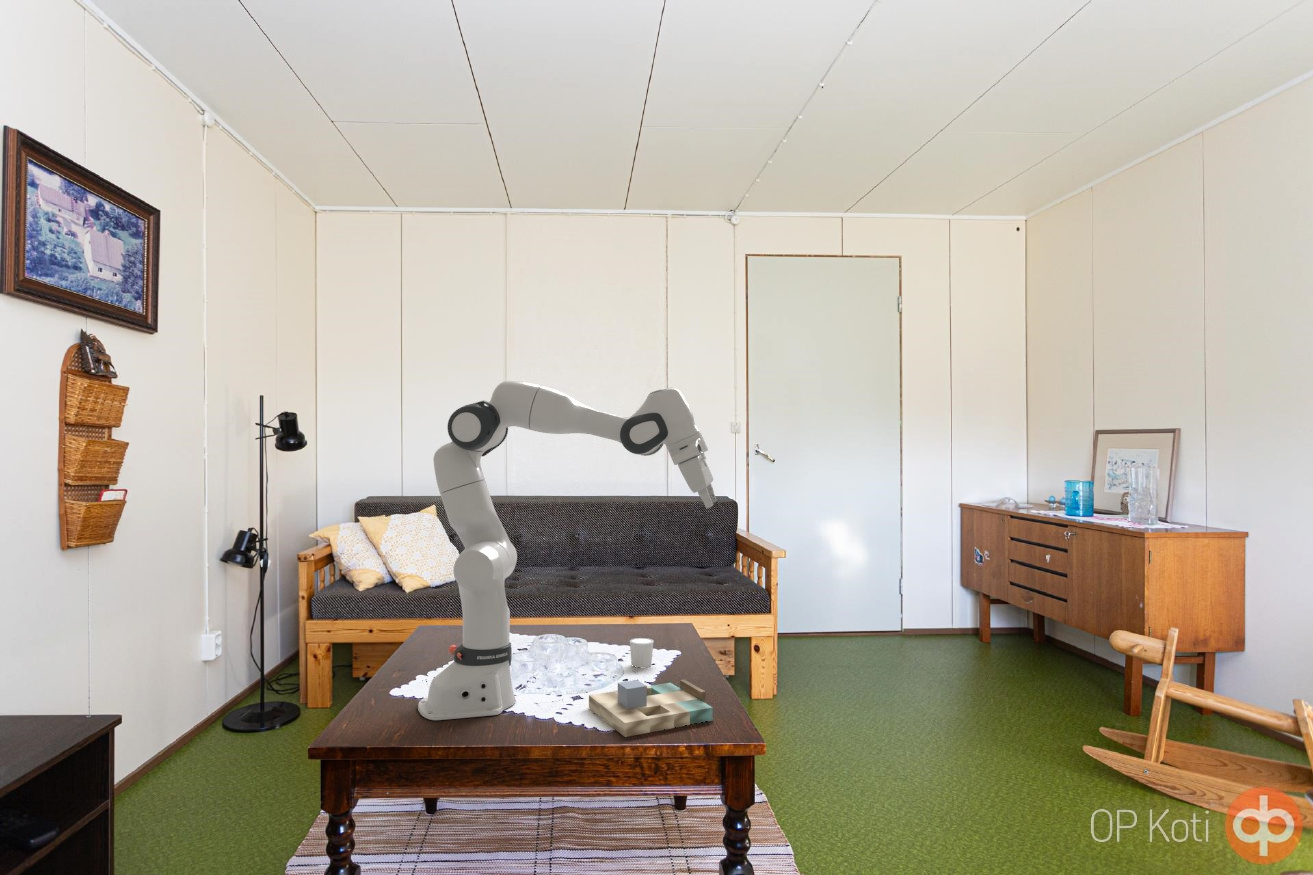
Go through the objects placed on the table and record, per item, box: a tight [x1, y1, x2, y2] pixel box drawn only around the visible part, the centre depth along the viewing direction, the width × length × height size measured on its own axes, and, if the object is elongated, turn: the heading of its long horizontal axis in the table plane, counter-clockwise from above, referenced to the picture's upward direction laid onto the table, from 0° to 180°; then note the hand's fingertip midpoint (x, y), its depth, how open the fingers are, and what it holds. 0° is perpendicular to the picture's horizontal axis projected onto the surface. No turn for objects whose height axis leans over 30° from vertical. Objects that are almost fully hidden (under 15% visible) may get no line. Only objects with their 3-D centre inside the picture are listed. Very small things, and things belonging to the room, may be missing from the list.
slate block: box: [617, 679, 648, 709], centre depth 173 cm, size 5×5×4 cm
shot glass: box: [629, 637, 655, 668], centre depth 215 cm, size 7×7×7 cm
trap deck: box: [588, 679, 714, 738], centre depth 176 cm, size 23×20×5 cm
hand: (711, 504), depth 179 cm, fingers open, 8 cm apart
